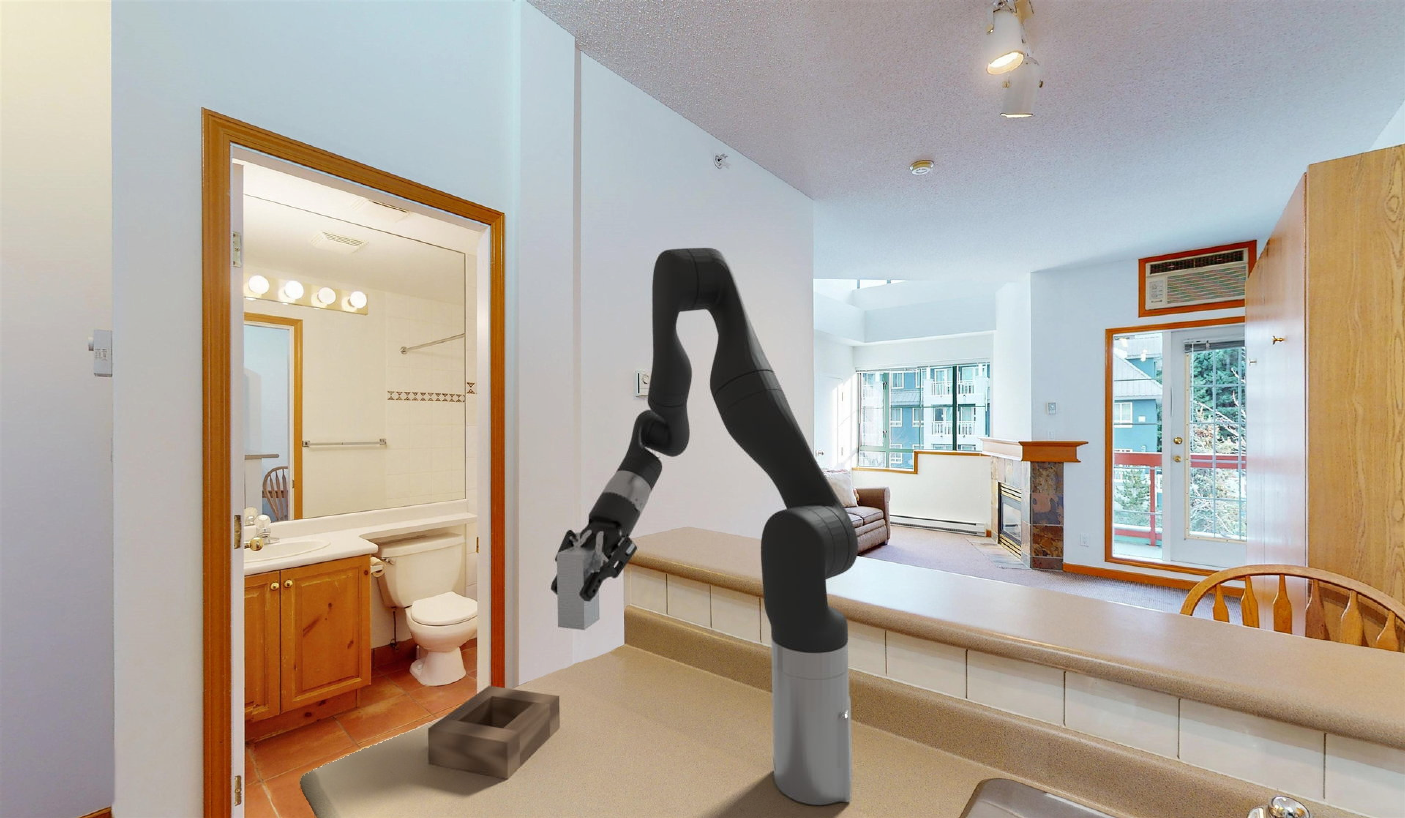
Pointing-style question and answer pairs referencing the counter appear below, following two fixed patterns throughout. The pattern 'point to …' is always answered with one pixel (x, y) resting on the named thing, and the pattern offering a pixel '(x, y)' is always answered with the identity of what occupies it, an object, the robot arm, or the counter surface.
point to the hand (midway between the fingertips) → (569, 595)
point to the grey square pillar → (575, 588)
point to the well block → (494, 731)
